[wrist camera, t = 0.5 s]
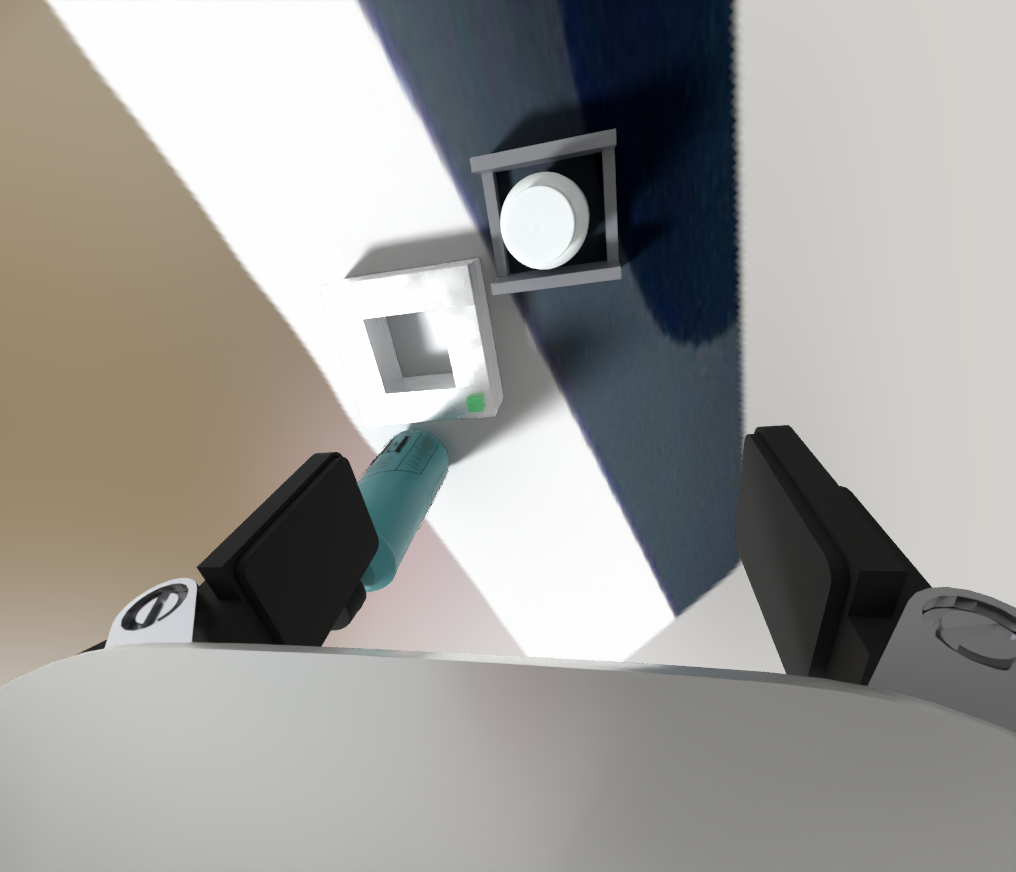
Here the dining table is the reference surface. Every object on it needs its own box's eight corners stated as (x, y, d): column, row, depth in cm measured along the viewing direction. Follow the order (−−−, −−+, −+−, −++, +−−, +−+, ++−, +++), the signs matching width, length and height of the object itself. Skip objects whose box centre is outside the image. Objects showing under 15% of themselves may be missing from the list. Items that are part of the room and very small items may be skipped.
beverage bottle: (423, 408, 42) (306, 557, 25) (469, 457, 44) (390, 627, 27) (380, 442, 45) (248, 597, 28) (425, 487, 47) (328, 658, 30)
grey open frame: (483, 161, 32) (469, 158, 28) (613, 135, 30) (615, 128, 26) (502, 285, 36) (492, 295, 32) (618, 269, 34) (621, 278, 30)
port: (344, 278, 38) (314, 288, 34) (479, 257, 35) (465, 266, 31) (383, 406, 43) (362, 428, 39) (503, 397, 40) (493, 419, 36)
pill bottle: (605, 209, 32) (609, 215, 23) (557, 271, 34) (546, 296, 26) (546, 157, 31) (530, 144, 23) (502, 225, 34) (472, 236, 25)
